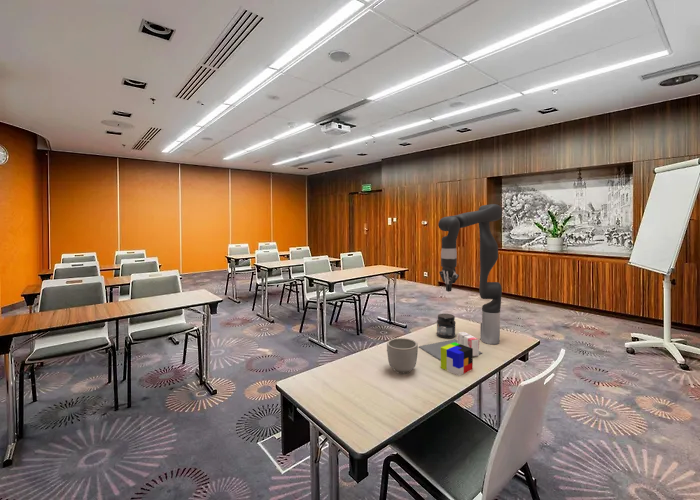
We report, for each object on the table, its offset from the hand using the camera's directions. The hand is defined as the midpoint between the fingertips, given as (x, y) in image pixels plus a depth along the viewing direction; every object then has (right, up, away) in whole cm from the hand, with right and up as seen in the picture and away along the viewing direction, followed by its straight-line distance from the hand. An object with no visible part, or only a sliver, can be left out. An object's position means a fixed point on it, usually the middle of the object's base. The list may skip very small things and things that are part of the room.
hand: (448, 291), depth 173 cm
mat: (+2, -32, +5) cm, 32 cm away
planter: (-26, -35, -16) cm, 46 cm away
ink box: (+12, -27, -5) cm, 30 cm away
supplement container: (+6, -30, +27) cm, 40 cm away
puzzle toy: (-1, -34, -15) cm, 37 cm away
